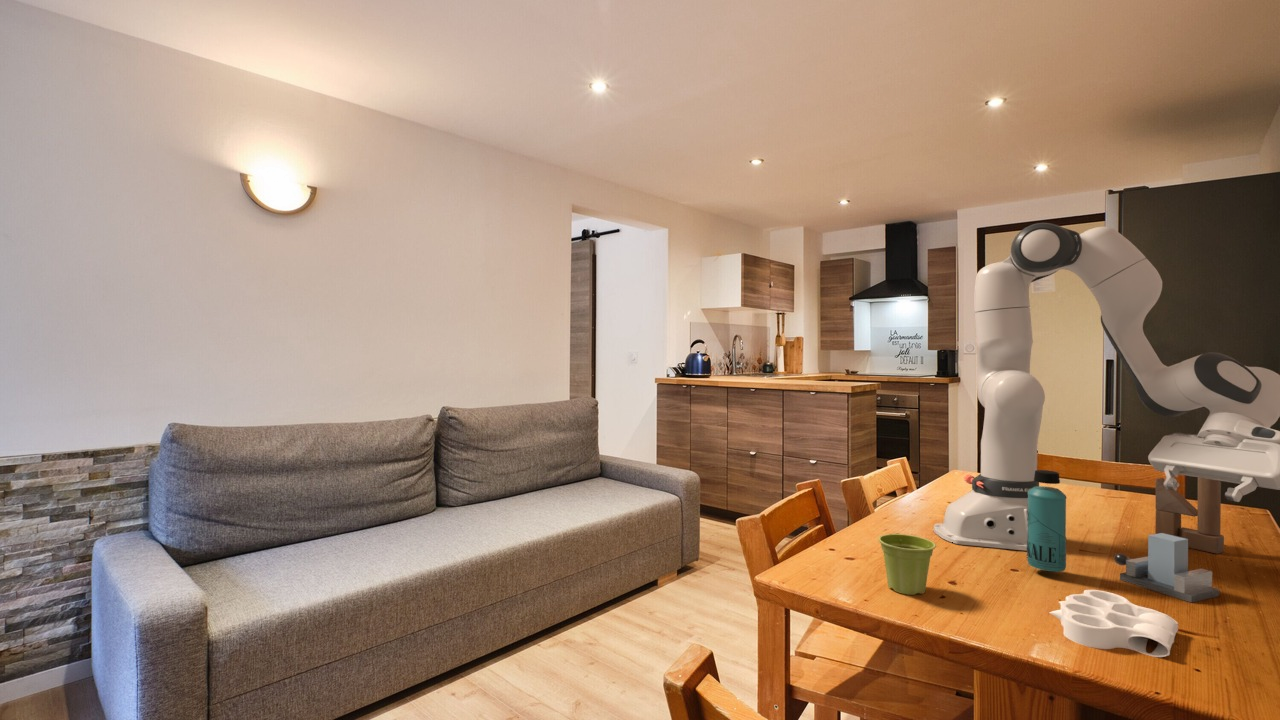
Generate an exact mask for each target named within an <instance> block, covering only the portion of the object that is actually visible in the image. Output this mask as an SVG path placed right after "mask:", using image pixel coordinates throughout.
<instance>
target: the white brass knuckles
mask: <svg viewBox="0 0 1280 720" xmlns="http://www.w3.org/2000/svg"><path fill="white" fill-rule="evenodd" d="M1058 604H1060V609H1057V610H1052V611H1050V612H1048V613H1049V614H1051V615H1052V616H1054V617H1055V618H1057V619H1059V620H1060V623H1061V625H1060V626H1062V627H1063V636H1064V637H1066V639H1068V640H1069V641H1072V642H1074V643H1076V644H1078V645H1082V646H1085V647H1088V648H1093V649H1102V650H1111V649H1112V650H1113V649H1115V648H1118V649H1119V648H1121V649H1127V650H1131V651H1133V652H1134V651H1135V652H1137V653H1140V654H1142V655H1147V656H1150V657H1153V658H1163V657H1168V656H1170V655H1171V648H1172V646H1173V644H1174V643H1175V637H1176V635H1177V632H1178V631H1179V622H1178V621H1176V620H1175V619H1174V618H1173V617H1171V616H1170V615H1168V614H1167V613H1163V612H1160V611H1158V610H1155V609H1152V608H1149V607H1144V606H1141V605H1136V604H1134V603H1132V602H1131V601H1129V600H1128V598H1127V597H1124V596H1122V595H1119V594H1117V593H1112V592H1110V591H1109V592H1108V591H1105V590H1099V589H1098V590H1097V589H1085V590H1083V592H1082V593H1078V594H1075V593H1072V594H1070V595H1067V596H1065V600H1062V601H1058ZM1149 639H1150V640H1153V641H1155V642H1157V645H1156V647H1155V648H1154V650H1153V651H1152V652H1148V651H1147V644H1148V641H1149Z"/></svg>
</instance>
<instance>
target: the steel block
mask: <svg viewBox="0 0 1280 720" xmlns="http://www.w3.org/2000/svg"><path fill="white" fill-rule="evenodd" d="M1147 536H1148V538H1147V539H1148V540H1147V556H1148V579H1151V580H1154V581H1157V582H1161V583H1164V584H1167V585H1171V586H1174V574H1178V573H1183V572H1187V571H1189V548H1188V539H1185V538H1181V537H1177V536H1173V535H1168V534H1164V533H1159V534H1148V535H1147Z"/></svg>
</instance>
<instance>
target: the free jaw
mask: <svg viewBox="0 0 1280 720" xmlns="http://www.w3.org/2000/svg"><path fill="white" fill-rule="evenodd" d="M1113 560H1114V562H1115V563H1116V564H1117V565H1119V566H1125V572H1126V574H1127V575H1130V576H1133V577H1138V576H1143V575H1148V555H1147V556H1142V557H1136V558H1129V557H1128V556H1127V555H1126V554H1124V553H1117V554H1115V555H1114V557H1113Z"/></svg>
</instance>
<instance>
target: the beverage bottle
mask: <svg viewBox="0 0 1280 720" xmlns="http://www.w3.org/2000/svg"><path fill="white" fill-rule="evenodd" d="M1034 481H1036V482H1039V484H1049V485H1051V484H1052V485H1058V484H1061V479H1060V473H1059V472H1057V471H1054V470H1047V469H1046V470H1045V469H1037V470H1036V471H1035V476H1034ZM1027 508H1028V511H1027V517H1028V519H1027V521H1028V525H1027V526H1028V532H1027V533H1028V536H1027V537H1028V539H1027V540H1028V541H1027V551H1026V559H1027V564H1028V565H1029V566H1030V567H1032V568H1035V569H1038V570H1041V571H1046V572H1064V571H1065V570H1066V568H1067V537H1066V532H1067V527H1066V525H1067V520H1066V519H1067V495H1066V494H1065V493H1064V492H1063V491H1062V490H1061V489H1059V488H1055V487H1051V486H1040V485H1039V486H1037V487H1033V488H1032V489H1030V490H1029V491H1028V507H1027Z"/></svg>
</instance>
